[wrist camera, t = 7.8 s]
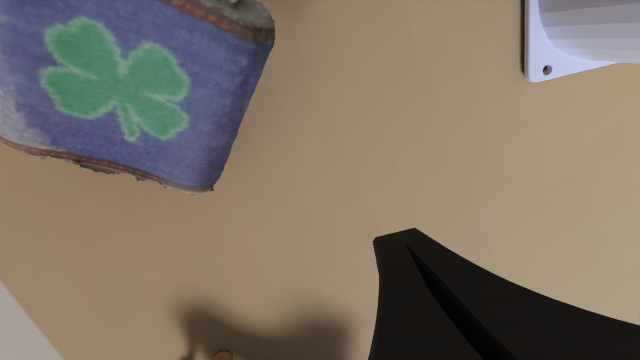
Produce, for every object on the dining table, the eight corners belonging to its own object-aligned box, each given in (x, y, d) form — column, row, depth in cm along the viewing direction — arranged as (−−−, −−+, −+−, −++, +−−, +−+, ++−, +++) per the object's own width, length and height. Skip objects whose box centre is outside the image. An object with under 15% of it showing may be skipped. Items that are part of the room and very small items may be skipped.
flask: (-21, 145, 14) (-104, -225, 7) (19, 103, 16) (-17, -214, 9) (213, 203, 17) (304, -14, 10) (221, 162, 19) (301, -41, 13)
